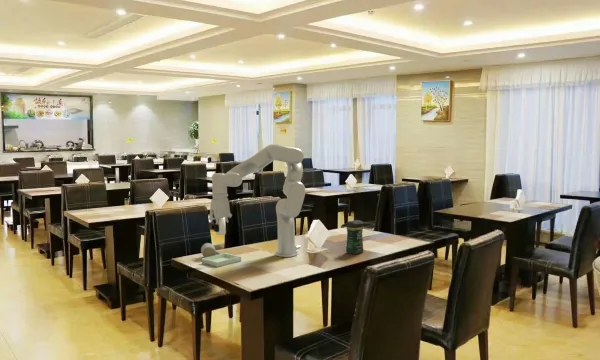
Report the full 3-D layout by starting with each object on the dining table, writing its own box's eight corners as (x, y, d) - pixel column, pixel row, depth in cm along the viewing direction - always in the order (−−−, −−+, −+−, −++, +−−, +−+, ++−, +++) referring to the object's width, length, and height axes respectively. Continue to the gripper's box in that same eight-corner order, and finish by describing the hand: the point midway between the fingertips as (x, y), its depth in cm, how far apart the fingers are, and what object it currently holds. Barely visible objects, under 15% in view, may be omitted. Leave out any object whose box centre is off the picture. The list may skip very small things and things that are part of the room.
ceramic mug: (203, 260, 263) (202, 246, 262) (201, 256, 270) (200, 243, 270) (222, 258, 266) (222, 245, 266) (219, 255, 274) (219, 242, 273)
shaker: (221, 232, 260) (221, 214, 259) (227, 233, 257) (227, 215, 256) (214, 234, 256) (213, 215, 256) (220, 235, 253) (219, 216, 252)
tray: (225, 257, 268) (225, 252, 268) (241, 261, 259) (241, 256, 259) (202, 263, 256) (201, 258, 256) (217, 267, 248) (217, 262, 247)
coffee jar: (354, 255, 269) (354, 222, 267) (343, 253, 275) (343, 220, 273) (365, 252, 275) (365, 220, 274) (355, 250, 281) (355, 218, 280)
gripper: (228, 194, 264) (228, 227, 265) (202, 197, 251) (203, 232, 253) (237, 195, 259) (237, 229, 260) (211, 198, 246) (212, 234, 248)
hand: (220, 230), depth 256 cm, fingers closed on shaker, 5 cm apart
